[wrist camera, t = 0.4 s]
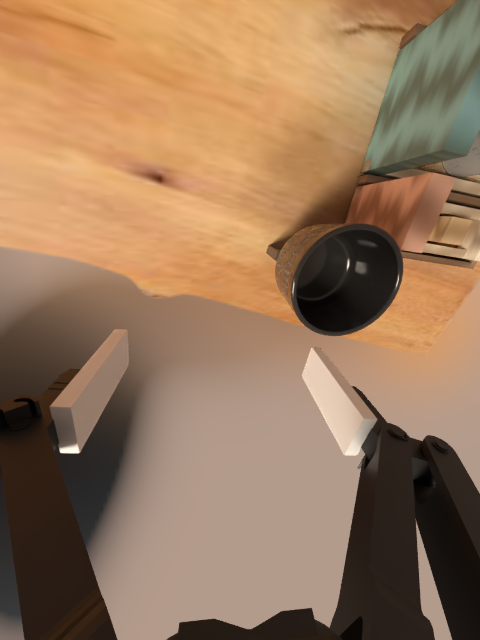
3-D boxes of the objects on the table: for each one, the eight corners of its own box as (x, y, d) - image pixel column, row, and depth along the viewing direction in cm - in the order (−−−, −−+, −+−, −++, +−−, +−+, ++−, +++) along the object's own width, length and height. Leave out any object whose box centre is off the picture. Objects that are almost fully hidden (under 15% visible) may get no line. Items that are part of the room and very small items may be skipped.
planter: (332, 282, 44) (399, 322, 28) (267, 299, 44) (298, 347, 28) (328, 210, 39) (410, 209, 23) (254, 229, 39) (283, 241, 23)
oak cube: (431, 216, 41) (452, 216, 37) (450, 219, 41) (472, 220, 38) (420, 239, 42) (440, 242, 39) (438, 242, 43) (459, 245, 39)
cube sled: (356, 186, 37) (433, 172, 24) (482, 213, 41) (607, 212, 28) (340, 238, 40) (400, 249, 27) (458, 257, 44) (560, 276, 31)
